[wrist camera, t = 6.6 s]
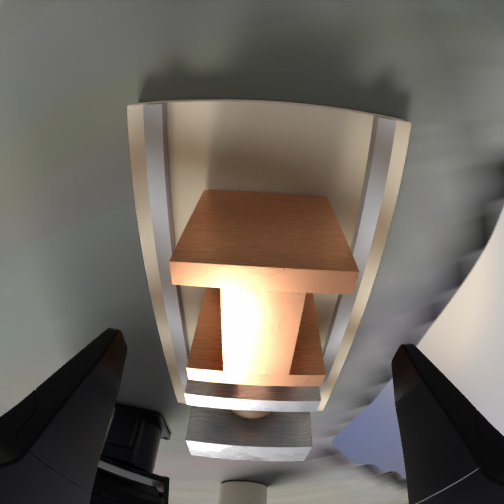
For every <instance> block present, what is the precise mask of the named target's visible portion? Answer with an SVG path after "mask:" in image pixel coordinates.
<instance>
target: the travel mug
mask: <svg viewBox="0 0 504 504" xmlns="http://www.w3.org/2000/svg"><path fill="white" fill-rule="evenodd" d="M266 502H267V487H266V486H265V485H263V484H260V483H257V482H251V481H228V482H225V483H222V484H221V485H220V495H219V504H266Z"/></svg>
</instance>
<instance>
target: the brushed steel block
mask: <svg viewBox="0 0 504 504" xmlns="http://www.w3.org/2000/svg"><path fill="white" fill-rule="evenodd" d="M186 443H187V445H188V448H189V450H190V453H191V455H197V456H205V457H213V458H224V459H236V460H253V461H304V460H305V458H306V457H307V455H308V453H309V452H310V450H311V448H312V435H311V421H310V412H274V411H272V412H270V413H269V414H268V415H266V416H263V417H261V418H255V419H249V418H244V417H241V416H239V415H237V414H236V413H234V412H233V411H232V410H231V409H222V408H212V407H202V406H194V405H192V408H191V413H190V418H189V424H188V429H187V435H186Z"/></svg>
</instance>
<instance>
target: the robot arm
mask: <svg viewBox="0 0 504 504" xmlns="http://www.w3.org/2000/svg"><path fill="white" fill-rule="evenodd" d="M126 354H127V345H126V342H125V340H124V337H123V334H122V332H121V330H119V329H114V328H108V329H107V330H105V331H104V332H103V333H102V334H100V335H99V336H98V337H97V338H96V339H94V340H93V341H92V342H91V343H90V344H88V345H87V346H86V347H85V348H84V349H82V350H81V351H80V352H79V353H78V354H76V355H75V356H74V357H73V358H72V359H70V360H69V361H68V362H67V363H66V364H64V365H63V366H62V367H61V368H60V369H59V370H57V371H56V372H55V373H54V374H53V375H51V376H50V377H49V378H48V379H47V380H46V381H44V382H43V383H42V384H41V385H40V386H39V387H37V388H36V390H34V391H33V392H32V393H30V394H29V395H28V396H27V397H26V398H25V399H23V400H22V401H21V402H20V403H18V404H17V405H16V406H15V407H13V408H12V409H11V410H9V411H8V412H6V413H5V414H4V415H2V416H1V417H0V504H168V495H169V477H165V476H164V477H162V476H159V475H156V474H153V470H154V466H155V461H156V456H157V452H158V447H159V443H160V439H165V440H170V434H169V432H168V430H167V428H166V425H165V423H164V421H163V419H162V417H161V415H160V414H159V413H156V412H151V411H146V410H141V409H136V408H131V407H126V406H122V405H117V404H115V403H116V400H117V396H118V393H119V388H120V384H121V378H122V373H123V368H124V364H125V359H126ZM392 375H393V384H394V397H395V406H396V412H397V418H398V423H399V429H400V436H401V442H402V448H403V455H404V462H405V471H406V479H407V488H408V499H409V504H504V436H503V435H502V434H501V433H500V432H499V431H498V430H496V429H495V428H494V427H493V426H492V425H491V424H490V423H489V422H488V421H487V419H486V418H485V417H484V416H483V415H482V414H481V413H480V412H479V411H477V409H476V408H475V407H474V406H473V405H472V404H471V403H470V402H469V400H468V399H467V398H466V397H465V396H464V395H463V394H462V393H461V392H460V391H459V390H458V389H457V388H456V387H455V386H454V385H453V384H452V383H451V382H450V381H449V380H448V379H447V378H446V377H445V376H444V374H443V373H442V372H441V371H439V369H438V368H437V367H436V366H434V364H433V363H432V362H431V361H430V360H429V359H428V358H427V357H426V356H425V355H424V354H423V353H422V352H421V351H420V350H419V349H418V348H417V347H416V346H415V345H413V344H401V345H400V346H399V348H398V350H397V352H396V354H395V356H394V358H393V360H392ZM110 420H111V421H110ZM109 423H110V424H109ZM108 426H109V427H108Z"/></svg>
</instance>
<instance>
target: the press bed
mask: <svg viewBox="0 0 504 504" xmlns="http://www.w3.org/2000/svg"><path fill="white" fill-rule="evenodd" d="M127 119H128V136H129V149H130V161H131V172H132V181H133V190H134V198H135V206H136V214H137V221H138V228H139V234H140V241H141V247H142V253H143V259H144V264H145V270H146V275H147V280H148V286H149V291H150V295H151V300H152V305H153V309H154V314H155V318H156V323H157V327H158V331H159V335H160V340H161V344H162V348H163V351H164V355H165V359H166V363H167V367H168V370H169V374H170V377H171V381H172V384H173V388H174V391H175V395H176V398H177V401H178V403H184V404H187V402H186V398H185V394H184V393H185V388H186V384H187V379H188V373H187V363H188V359H189V355H190V351H191V346H192V342H193V338H194V334H195V330H196V326H197V322H198V317H199V313H200V309H201V305H202V301H203V297H204V294H205V290H206V287H199V286H185V285H173V284H172V279H171V272H170V264H169V260H170V258H171V256H172V254H173V252H174V250H175V248H176V245H177V243H178V241H179V239H180V237H181V235H182V233H183V231H184V229H185V227H186V225H187V223H188V221H189V219H190V217H191V215H192V213H193V211H194V209H195V207H196V205H197V203H198V201H199V199H200V197H201V195H202V193H203V191H204V190H227V191H249V192H267V193H283V194H297V195H310V196H322V197H328V200H329V202H330V204H331V206H332V208H333V210H334V213H335V215H336V217H337V219H338V222H339V224H340V226H341V228H342V231H343V233H344V235H345V238H346V240H347V242H348V245H349V247H350V250H351V252H352V254H353V257H354V259H355V262H356V264H357V267H358V269H359V276H358V279H357V283H356V286H355V290H354V293H353V294H325V293H313V296H314V302H315V308H316V314H317V320H318V327H319V333H320V340H321V346H322V353H323V360H324V367H325V374H326V376H325V378H324V381H323V383H322V386H320V395H321V402H320V405H319V407H318V409H317V411H323V409H324V407H325V405H326V403H327V400H328V398H329V396H330V394H331V392H332V390H333V387H334V385H335V383H336V381H337V378H338V376H339V374H340V371H341V369H342V367H343V364H344V362H345V359H346V357H347V354H348V352H349V349H350V347H351V344H352V342H353V339H354V337H355V334H356V331H357V329H358V326H359V323H360V321H361V318H362V315H363V312H364V310H365V307H366V304H367V301H368V298H369V295H370V292H371V289H372V286H373V283H374V280H375V277H376V274H377V270H378V267H379V264H380V261H381V257H382V254H383V250H384V247H385V243H386V240H387V236H388V232H389V229H390V225H391V221H392V217H393V213H394V209H395V205H396V201H397V196H398V192H399V187H400V183H401V178H402V173H403V168H404V163H405V158H406V153H407V147H408V141H409V135H410V129H411V123H410V122H407V121H405V120H402V119H399V118H395V117H390V116H385V115H380V114H374V113H369V112H363V111H357V110H351V109H344V108H337V107H330V106H322V105H313V104H304V103H293V102H281V101H265V100H242V99H191V100H168V101H153V102H140V103H135V104H131V105H128V106H127Z"/></svg>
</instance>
